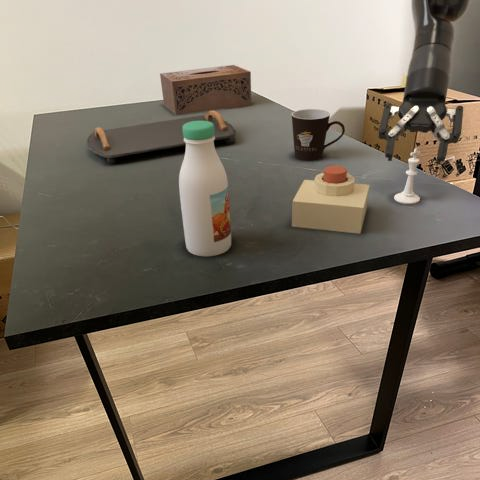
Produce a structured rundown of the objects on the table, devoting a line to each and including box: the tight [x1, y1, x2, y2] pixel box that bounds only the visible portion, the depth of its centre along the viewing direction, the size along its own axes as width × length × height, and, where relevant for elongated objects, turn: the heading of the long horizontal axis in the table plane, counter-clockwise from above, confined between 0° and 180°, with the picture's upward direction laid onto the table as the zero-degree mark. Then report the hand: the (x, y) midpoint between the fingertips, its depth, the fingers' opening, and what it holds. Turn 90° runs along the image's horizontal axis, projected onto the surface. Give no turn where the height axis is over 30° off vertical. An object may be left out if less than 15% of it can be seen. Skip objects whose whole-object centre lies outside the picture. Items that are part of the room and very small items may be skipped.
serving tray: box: [86, 110, 236, 166], centre depth 123 cm, size 39×23×6 cm, turn 113°
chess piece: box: [393, 148, 421, 205], centre depth 88 cm, size 5×5×10 cm
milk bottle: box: [178, 121, 232, 257], centre depth 73 cm, size 8×8×20 cm
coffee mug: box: [291, 108, 346, 162], centre depth 108 cm, size 12×9×10 cm
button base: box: [291, 172, 370, 235], centre depth 84 cm, size 12×10×7 cm
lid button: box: [323, 165, 348, 184], centre depth 83 cm, size 4×4×2 cm
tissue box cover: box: [159, 64, 252, 116], centre depth 153 cm, size 26×14×10 cm, turn 112°
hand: (414, 160), depth 86 cm, fingers open, 8 cm apart
